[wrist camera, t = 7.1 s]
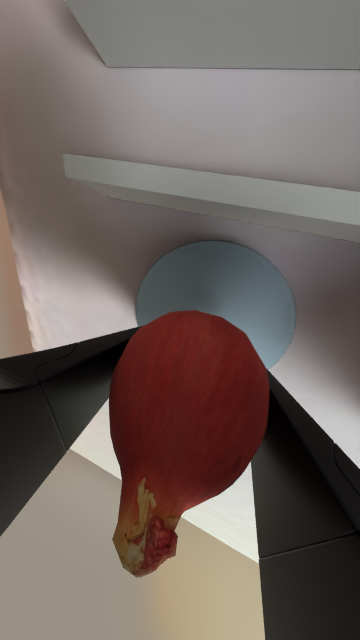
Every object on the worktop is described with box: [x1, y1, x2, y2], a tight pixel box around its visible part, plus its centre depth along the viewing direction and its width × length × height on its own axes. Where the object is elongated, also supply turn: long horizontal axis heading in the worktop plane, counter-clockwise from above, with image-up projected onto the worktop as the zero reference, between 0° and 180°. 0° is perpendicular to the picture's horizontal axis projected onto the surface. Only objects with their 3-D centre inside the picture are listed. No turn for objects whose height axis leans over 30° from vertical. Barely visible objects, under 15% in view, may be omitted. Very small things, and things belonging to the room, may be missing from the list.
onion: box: [109, 310, 270, 577], centre depth 6 cm, size 6×6×8 cm
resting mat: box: [136, 241, 296, 370], centre depth 11 cm, size 11×11×1 cm
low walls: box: [62, 0, 360, 243], centre depth 5 cm, size 16×6×3 cm, turn 79°
